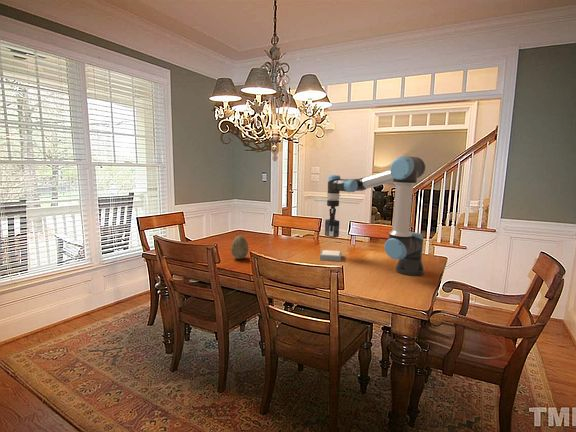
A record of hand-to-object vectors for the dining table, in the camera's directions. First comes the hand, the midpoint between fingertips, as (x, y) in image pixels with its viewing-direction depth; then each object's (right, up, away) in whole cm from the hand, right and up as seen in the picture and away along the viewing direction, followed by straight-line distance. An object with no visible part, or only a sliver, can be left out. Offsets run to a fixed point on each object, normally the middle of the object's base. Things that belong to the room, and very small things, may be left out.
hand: (331, 234), depth 214 cm
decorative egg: (-58, -15, -4) cm, 61 cm away
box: (0, -1, 0) cm, 1 cm away
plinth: (0, -15, +2) cm, 15 cm away
